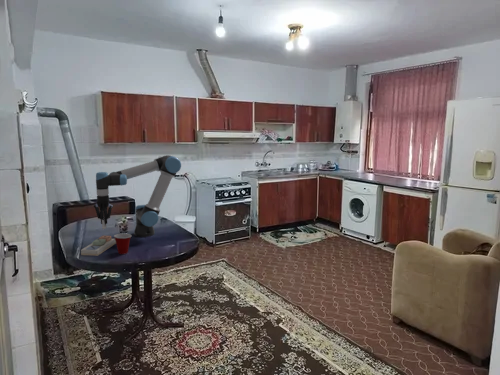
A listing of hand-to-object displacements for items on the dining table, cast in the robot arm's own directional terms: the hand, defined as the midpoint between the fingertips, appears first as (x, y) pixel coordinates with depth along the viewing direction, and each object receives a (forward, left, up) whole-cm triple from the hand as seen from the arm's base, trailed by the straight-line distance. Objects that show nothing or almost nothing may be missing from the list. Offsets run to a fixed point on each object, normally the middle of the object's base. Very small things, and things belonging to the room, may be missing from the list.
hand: (104, 228), depth 237 cm
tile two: (0, +8, -8) cm, 11 cm away
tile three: (0, +16, -10) cm, 19 cm away
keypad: (0, +8, -12) cm, 14 cm away
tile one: (0, 0, -8) cm, 8 cm away
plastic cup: (-19, +13, -12) cm, 26 cm away
